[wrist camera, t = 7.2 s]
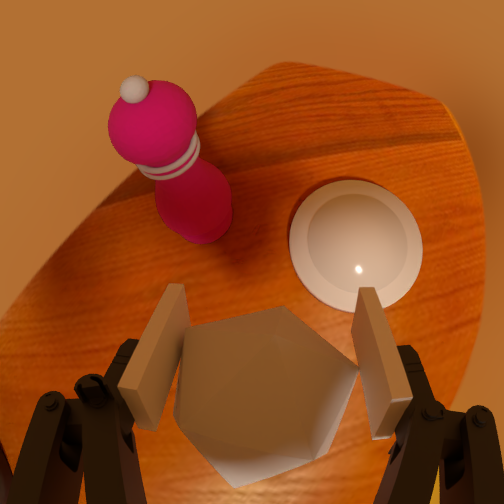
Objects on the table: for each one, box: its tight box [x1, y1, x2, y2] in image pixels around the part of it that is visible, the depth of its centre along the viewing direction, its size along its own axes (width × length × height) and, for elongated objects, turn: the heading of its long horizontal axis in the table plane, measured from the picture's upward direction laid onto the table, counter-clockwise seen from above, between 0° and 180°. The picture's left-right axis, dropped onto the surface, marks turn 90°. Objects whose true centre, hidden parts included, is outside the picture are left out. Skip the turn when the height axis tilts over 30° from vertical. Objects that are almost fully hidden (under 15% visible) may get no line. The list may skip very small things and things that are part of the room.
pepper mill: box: [108, 75, 233, 244], centre depth 25 cm, size 7×7×20 cm
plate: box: [289, 180, 423, 313], centre depth 31 cm, size 14×14×1 cm
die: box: [173, 306, 359, 488], centre depth 14 cm, size 8×9×10 cm
